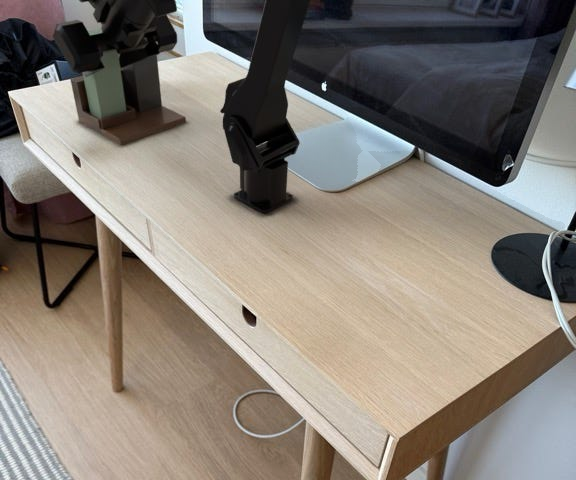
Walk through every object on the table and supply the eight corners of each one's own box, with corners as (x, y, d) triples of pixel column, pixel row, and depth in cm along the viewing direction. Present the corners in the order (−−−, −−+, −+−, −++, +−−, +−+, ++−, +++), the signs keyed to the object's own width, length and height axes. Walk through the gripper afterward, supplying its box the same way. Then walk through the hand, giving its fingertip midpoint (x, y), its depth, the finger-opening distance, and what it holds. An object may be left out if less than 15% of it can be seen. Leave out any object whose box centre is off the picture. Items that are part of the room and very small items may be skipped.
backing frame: (186, 122, 101) (179, 33, 91) (119, 145, 93) (104, 51, 83) (144, 102, 106) (133, 15, 96) (78, 122, 99) (58, 30, 88)
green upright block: (127, 118, 98) (115, 33, 89) (103, 125, 96) (87, 39, 86) (115, 111, 100) (102, 28, 91) (91, 119, 97) (74, 33, 88)
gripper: (157, -60, 83) (123, 11, 95) (41, -46, 73) (20, 31, 85) (197, 15, 85) (158, 74, 98) (89, 38, 75) (62, 101, 88)
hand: (102, 69), depth 92 cm, fingers open, 6 cm apart
